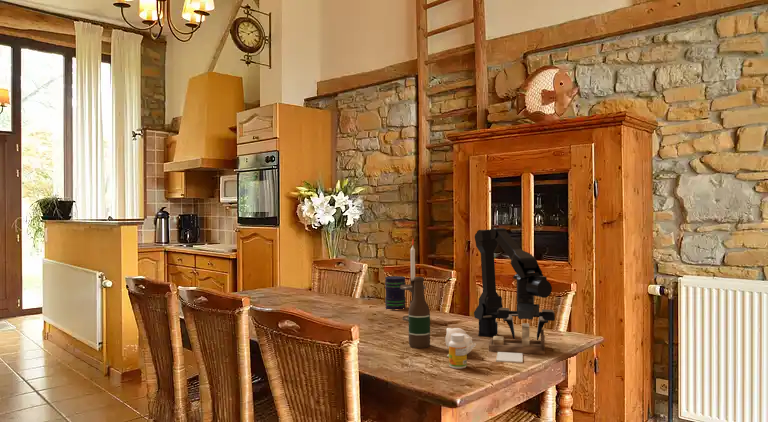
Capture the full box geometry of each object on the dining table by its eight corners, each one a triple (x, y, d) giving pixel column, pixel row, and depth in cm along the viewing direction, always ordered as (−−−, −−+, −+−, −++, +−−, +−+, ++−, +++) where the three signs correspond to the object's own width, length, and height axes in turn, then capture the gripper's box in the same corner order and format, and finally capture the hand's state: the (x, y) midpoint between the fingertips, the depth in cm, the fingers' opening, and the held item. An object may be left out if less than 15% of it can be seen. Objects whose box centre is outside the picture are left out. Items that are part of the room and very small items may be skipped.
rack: (488, 351, 184) (488, 333, 184) (490, 343, 194) (490, 326, 194) (544, 354, 180) (544, 335, 180) (543, 346, 189) (543, 329, 189)
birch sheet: (522, 349, 182) (521, 328, 182) (522, 343, 190) (522, 323, 190) (529, 349, 182) (529, 328, 182) (529, 343, 189) (529, 323, 189)
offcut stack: (492, 347, 185) (492, 340, 185) (493, 342, 192) (493, 335, 192) (503, 347, 184) (503, 340, 184) (504, 342, 191) (504, 335, 191)
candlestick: (409, 315, 245) (409, 237, 245) (430, 318, 239) (429, 238, 238) (395, 320, 236) (395, 238, 236) (417, 323, 230) (416, 239, 230)
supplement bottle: (447, 364, 169) (447, 332, 169) (464, 363, 170) (464, 332, 170) (450, 369, 164) (450, 336, 164) (468, 368, 164) (468, 336, 164)
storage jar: (383, 310, 259) (383, 278, 259) (386, 306, 269) (386, 275, 269) (404, 310, 258) (404, 278, 258) (407, 306, 267) (406, 276, 267)
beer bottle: (432, 343, 194) (432, 276, 194) (427, 349, 187) (426, 278, 187) (411, 342, 197) (411, 275, 197) (405, 347, 190) (404, 278, 189)
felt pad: (496, 361, 172) (496, 360, 172) (497, 353, 181) (497, 351, 181) (522, 362, 170) (522, 361, 170) (522, 354, 179) (522, 353, 179)
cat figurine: (470, 328, 176) (454, 319, 188) (444, 348, 174) (430, 338, 185) (483, 349, 178) (467, 340, 190) (457, 369, 176) (442, 358, 187)
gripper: (496, 296, 180) (496, 343, 180) (555, 298, 176) (555, 346, 176) (497, 291, 191) (498, 336, 191) (553, 292, 187) (554, 338, 187)
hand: (525, 339), depth 186 cm, fingers open, 7 cm apart
